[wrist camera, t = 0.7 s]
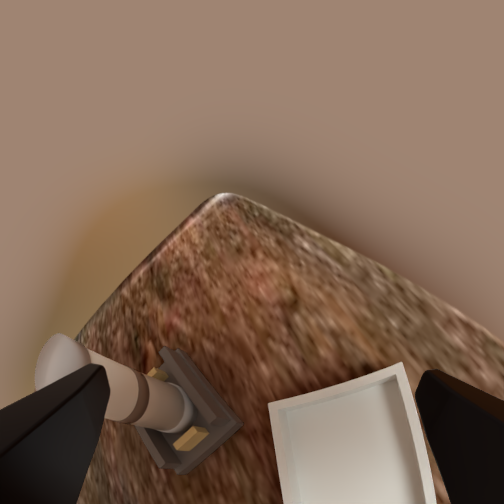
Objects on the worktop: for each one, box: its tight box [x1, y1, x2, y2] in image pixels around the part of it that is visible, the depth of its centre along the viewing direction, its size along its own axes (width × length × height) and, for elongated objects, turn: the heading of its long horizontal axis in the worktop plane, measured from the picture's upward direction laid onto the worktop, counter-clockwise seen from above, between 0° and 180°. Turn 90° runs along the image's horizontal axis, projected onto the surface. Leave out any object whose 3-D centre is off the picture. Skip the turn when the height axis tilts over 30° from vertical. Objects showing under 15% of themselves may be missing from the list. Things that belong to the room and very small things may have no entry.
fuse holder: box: [134, 346, 244, 475], centre depth 22 cm, size 9×7×3 cm
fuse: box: [35, 333, 197, 434], centre depth 18 cm, size 4×4×12 cm
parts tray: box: [268, 362, 437, 504], centre depth 14 cm, size 12×9×2 cm
